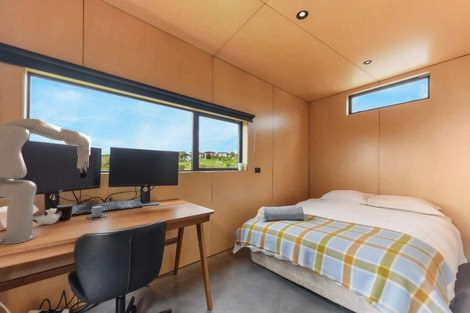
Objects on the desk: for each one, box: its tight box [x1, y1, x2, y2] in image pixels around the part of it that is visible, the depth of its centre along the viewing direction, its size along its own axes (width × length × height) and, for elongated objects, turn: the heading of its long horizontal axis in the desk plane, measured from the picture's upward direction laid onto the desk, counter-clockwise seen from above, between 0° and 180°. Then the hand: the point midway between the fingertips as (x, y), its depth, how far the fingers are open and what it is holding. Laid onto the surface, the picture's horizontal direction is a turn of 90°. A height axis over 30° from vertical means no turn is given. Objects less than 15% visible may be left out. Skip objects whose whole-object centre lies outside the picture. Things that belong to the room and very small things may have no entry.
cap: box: [91, 205, 103, 217], centre depth 147 cm, size 5×5×7 cm
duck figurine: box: [37, 208, 60, 226], centre depth 131 cm, size 12×8×11 cm
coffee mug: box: [54, 203, 74, 222], centre depth 140 cm, size 12×9×10 cm
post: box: [86, 213, 108, 221], centre depth 147 cm, size 10×10×7 cm
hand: (82, 178), depth 144 cm, fingers closed
